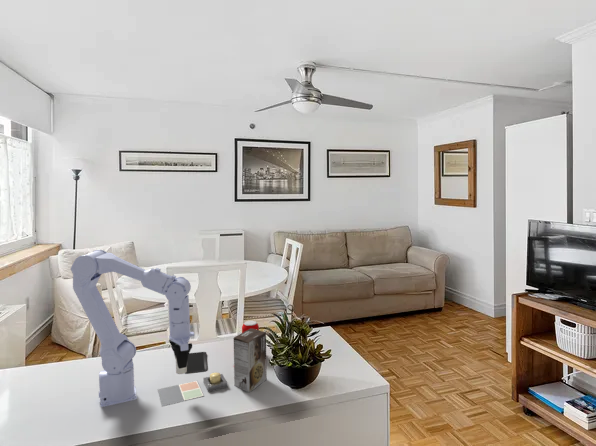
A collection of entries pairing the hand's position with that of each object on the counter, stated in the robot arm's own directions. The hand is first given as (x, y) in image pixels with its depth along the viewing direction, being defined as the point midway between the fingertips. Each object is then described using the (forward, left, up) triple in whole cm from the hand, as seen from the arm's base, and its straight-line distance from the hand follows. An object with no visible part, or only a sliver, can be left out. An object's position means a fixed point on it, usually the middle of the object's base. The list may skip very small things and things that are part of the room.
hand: (181, 364), depth 114 cm
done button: (+10, +1, -9) cm, 13 cm away
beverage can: (+28, +18, -10) cm, 35 cm away
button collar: (+10, +1, -10) cm, 14 cm away
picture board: (0, +1, -10) cm, 10 cm away
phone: (+8, +19, -10) cm, 23 cm away
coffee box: (+21, -2, -10) cm, 23 cm away
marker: (0, 0, -2) cm, 2 cm away
